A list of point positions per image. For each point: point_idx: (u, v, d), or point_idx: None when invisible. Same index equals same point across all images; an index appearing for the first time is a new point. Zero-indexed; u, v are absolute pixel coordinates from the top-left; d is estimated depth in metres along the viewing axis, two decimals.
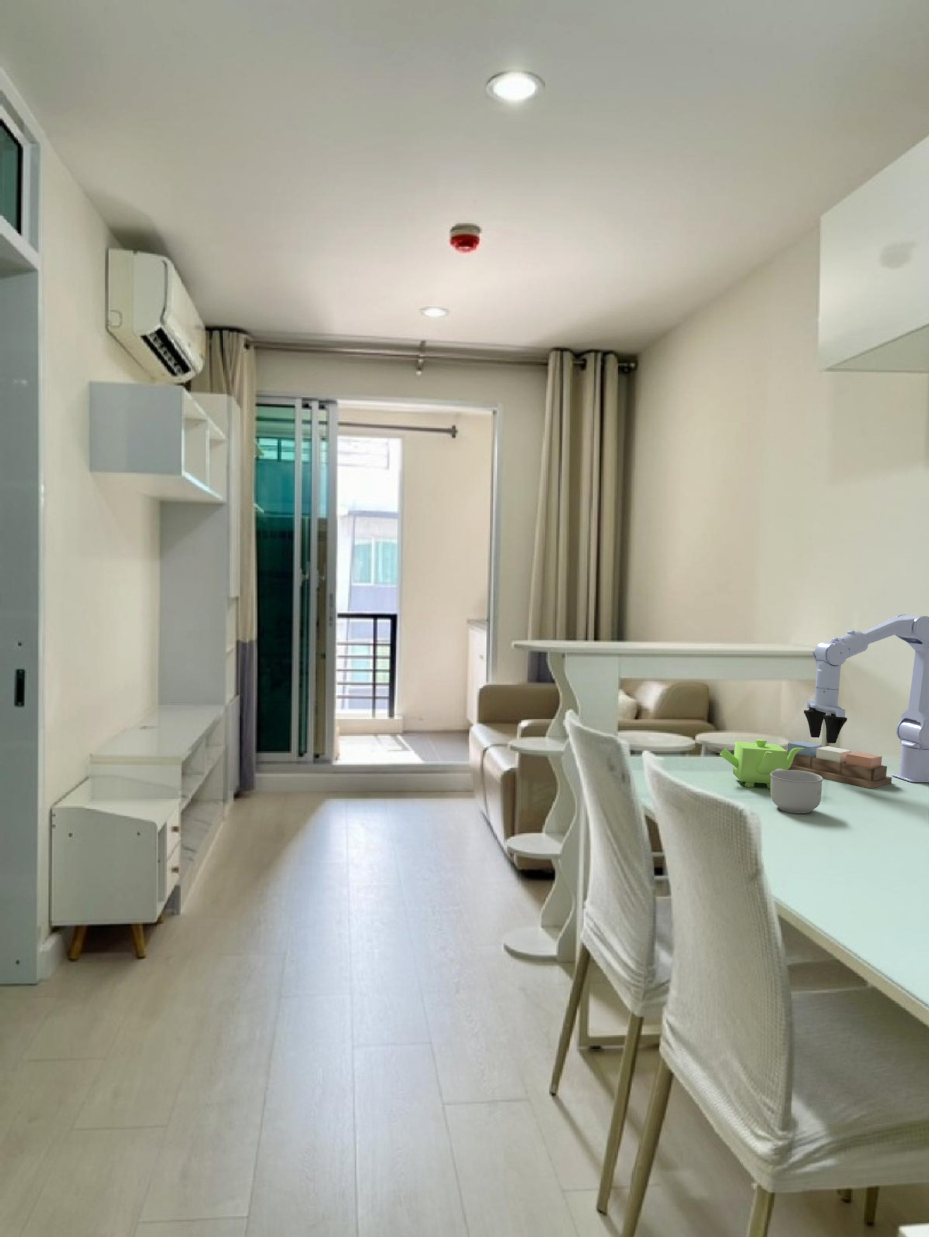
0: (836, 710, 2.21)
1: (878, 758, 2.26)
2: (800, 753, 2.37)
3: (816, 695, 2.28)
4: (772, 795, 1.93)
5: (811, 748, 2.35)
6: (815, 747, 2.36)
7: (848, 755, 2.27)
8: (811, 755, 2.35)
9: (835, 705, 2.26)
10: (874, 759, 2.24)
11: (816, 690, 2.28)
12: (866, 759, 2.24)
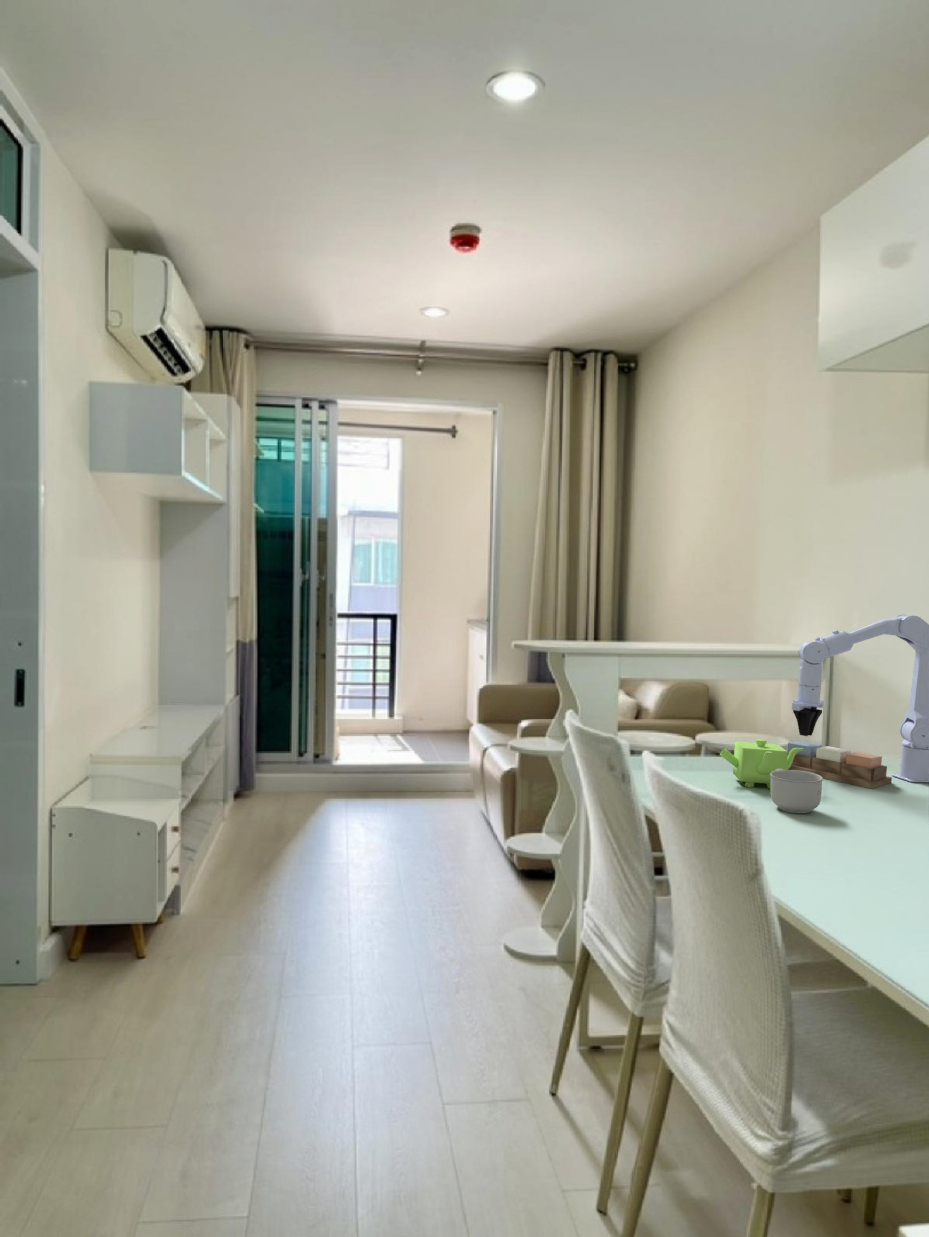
0: None
1: (878, 758, 2.26)
2: (800, 753, 2.37)
3: None
4: (772, 795, 1.93)
5: (811, 748, 2.35)
6: (815, 747, 2.36)
7: (848, 755, 2.27)
8: (811, 755, 2.35)
9: (807, 701, 2.36)
10: (874, 759, 2.24)
11: None
12: (866, 759, 2.24)
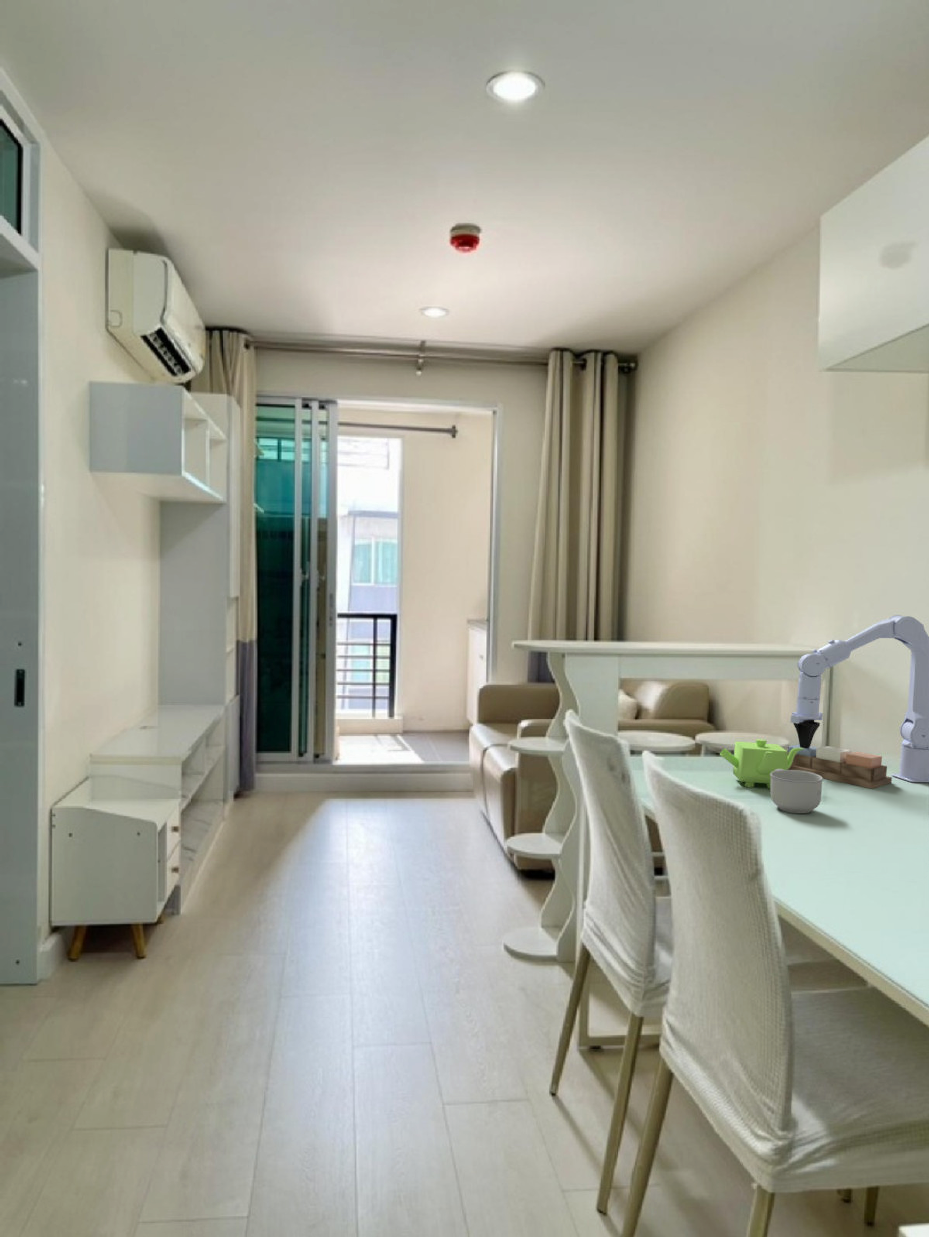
0: None
1: (878, 758, 2.26)
2: None
3: None
4: (772, 795, 1.93)
5: (811, 752, 2.35)
6: (815, 751, 2.36)
7: (848, 755, 2.27)
8: None
9: (806, 714, 2.36)
10: (874, 759, 2.24)
11: None
12: (866, 759, 2.24)
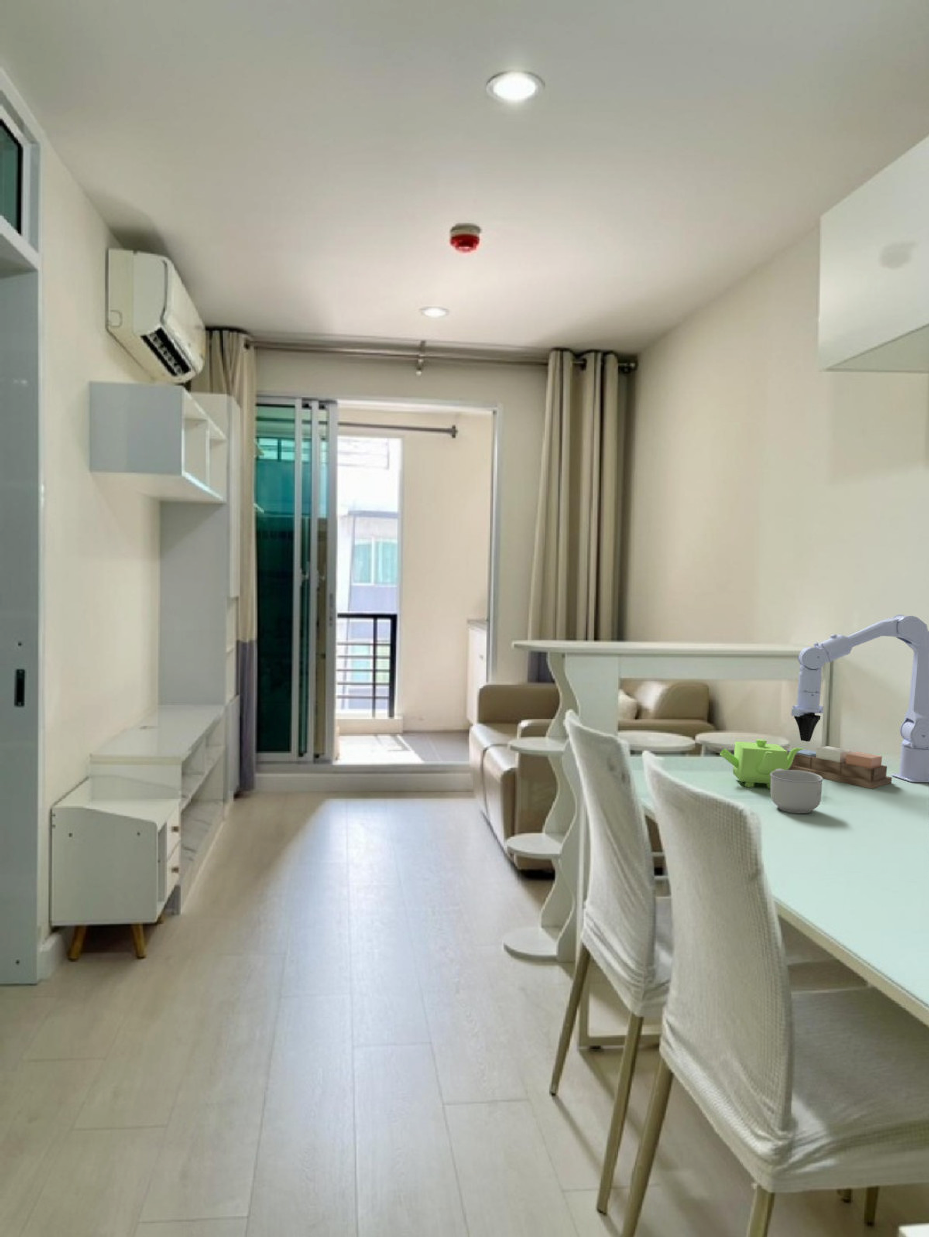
0: None
1: (878, 758, 2.26)
2: None
3: None
4: (772, 795, 1.93)
5: (810, 756, 2.35)
6: (814, 755, 2.36)
7: (848, 755, 2.27)
8: None
9: (807, 707, 2.36)
10: (874, 759, 2.24)
11: None
12: (866, 759, 2.24)
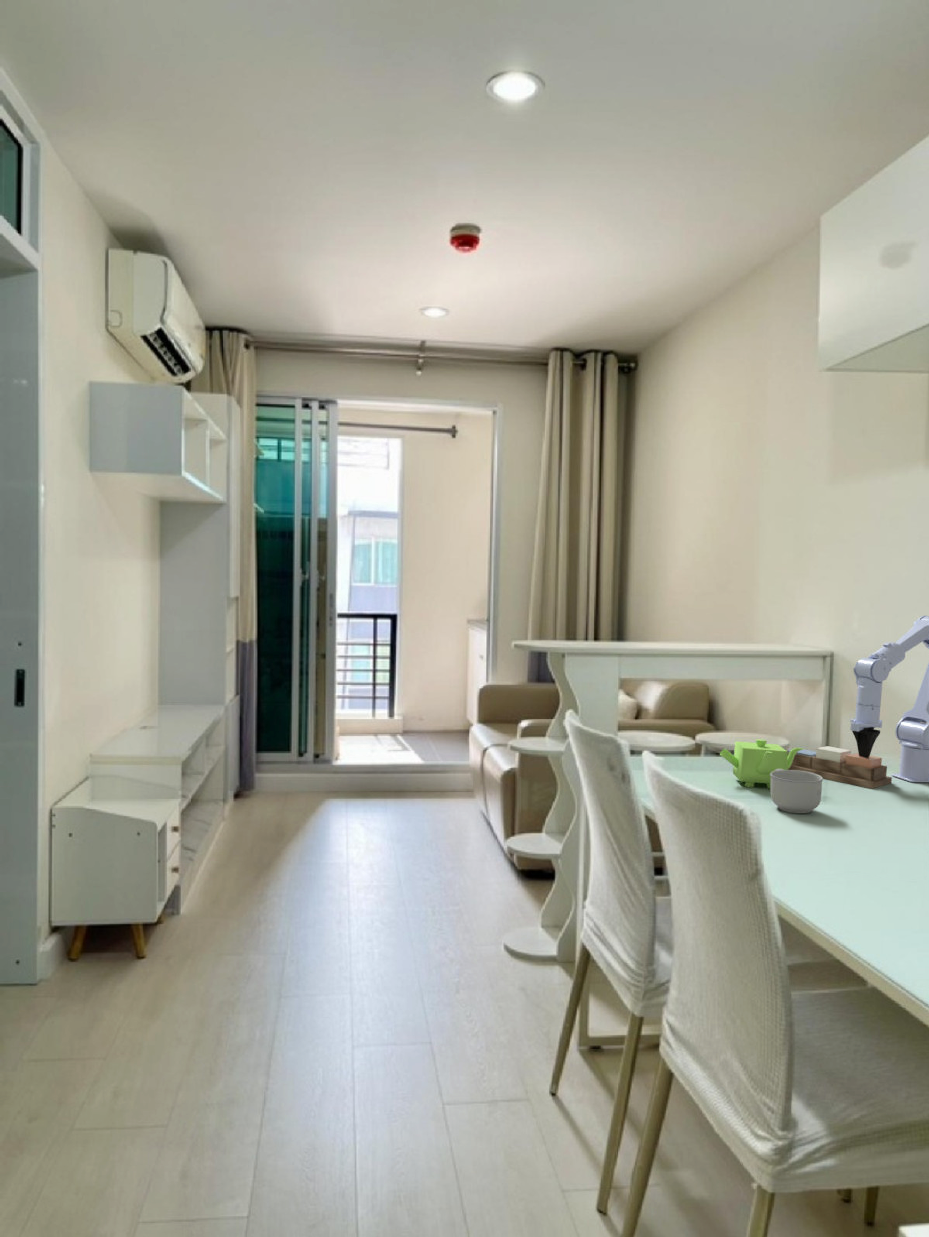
0: None
1: (878, 760, 2.26)
2: None
3: None
4: (772, 795, 1.93)
5: (810, 756, 2.35)
6: (814, 755, 2.36)
7: (848, 757, 2.27)
8: None
9: (867, 721, 2.24)
10: (874, 761, 2.24)
11: None
12: (866, 760, 2.24)
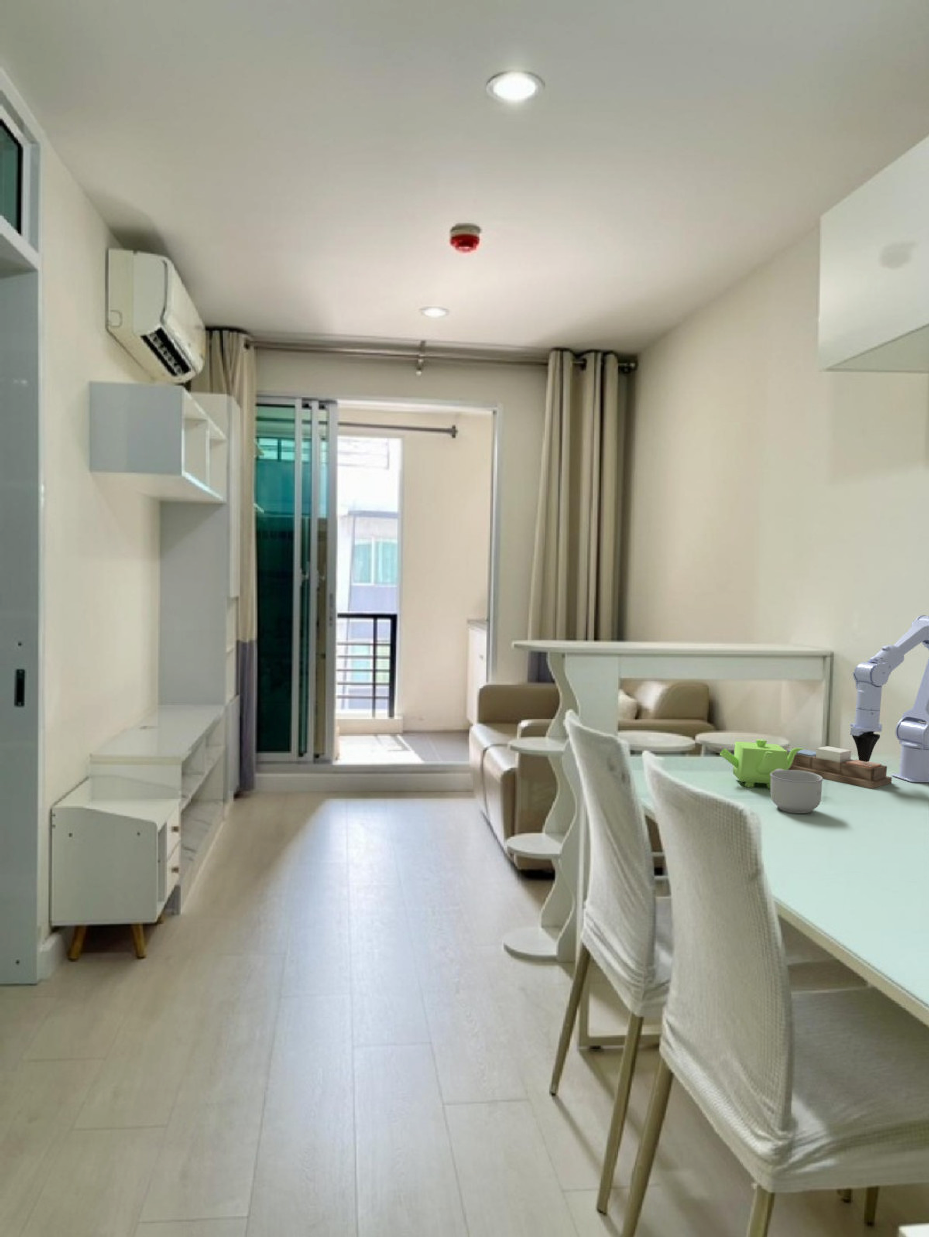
0: None
1: (877, 766, 2.26)
2: None
3: None
4: (772, 795, 1.93)
5: (810, 756, 2.35)
6: (814, 755, 2.36)
7: (847, 763, 2.27)
8: None
9: (866, 726, 2.24)
10: (873, 767, 2.24)
11: None
12: (866, 767, 2.24)
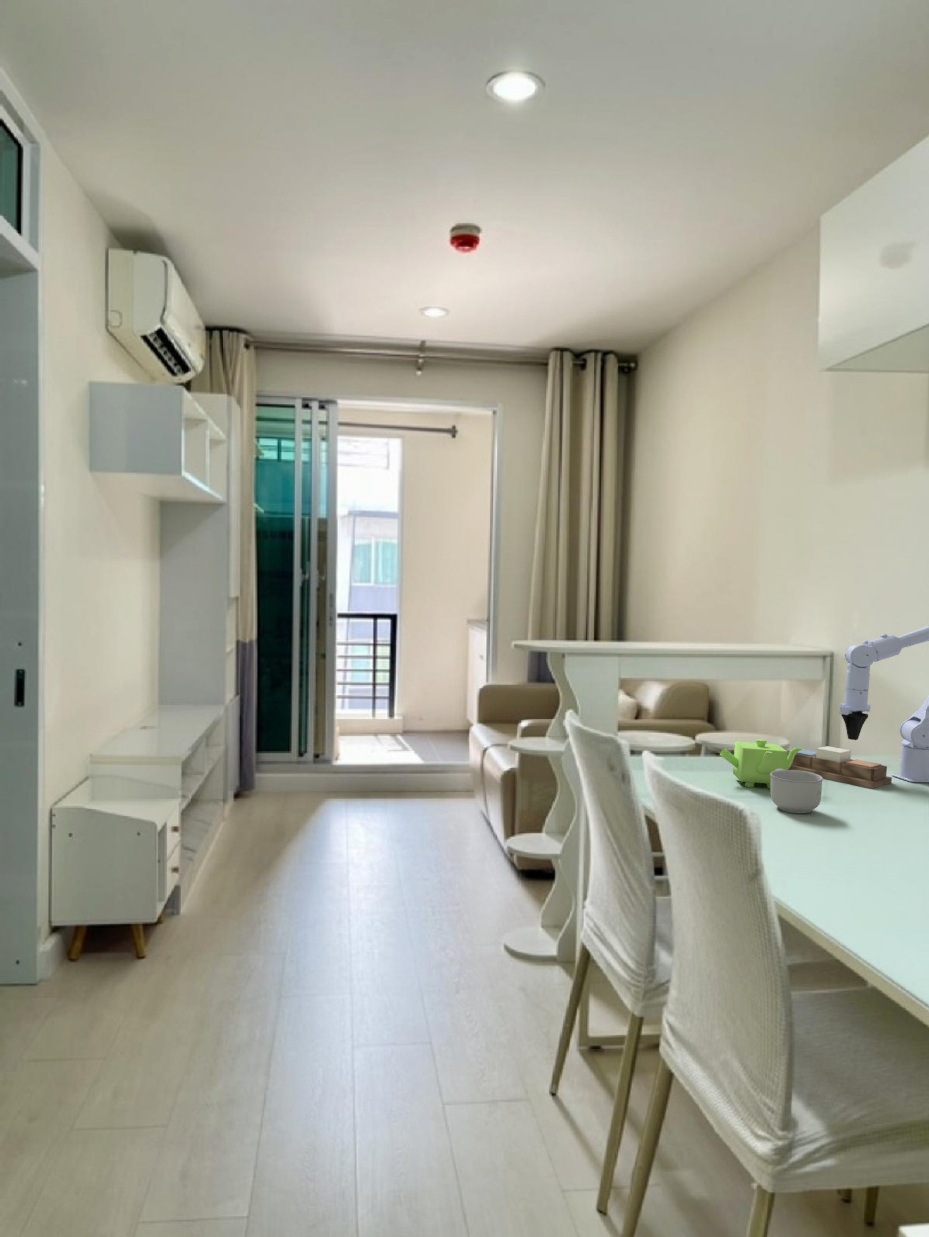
0: None
1: (877, 766, 2.26)
2: None
3: None
4: (772, 795, 1.93)
5: (810, 756, 2.35)
6: (814, 755, 2.36)
7: (847, 763, 2.27)
8: None
9: (855, 705, 2.33)
10: (873, 767, 2.24)
11: None
12: (866, 767, 2.24)
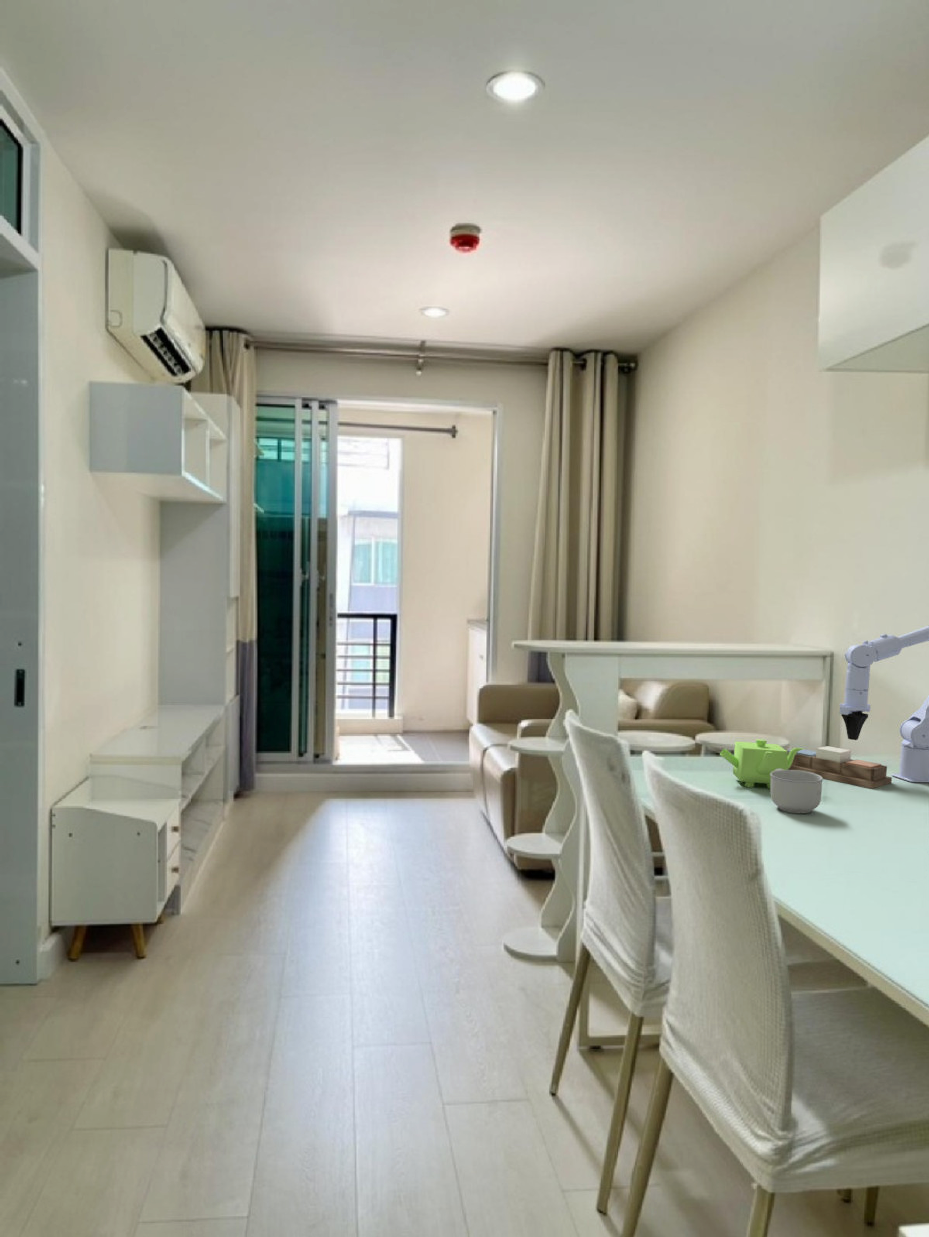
0: None
1: (877, 766, 2.26)
2: None
3: None
4: (772, 795, 1.93)
5: (810, 756, 2.35)
6: (814, 755, 2.36)
7: (847, 763, 2.27)
8: None
9: (855, 705, 2.33)
10: (873, 767, 2.24)
11: None
12: (866, 767, 2.24)
